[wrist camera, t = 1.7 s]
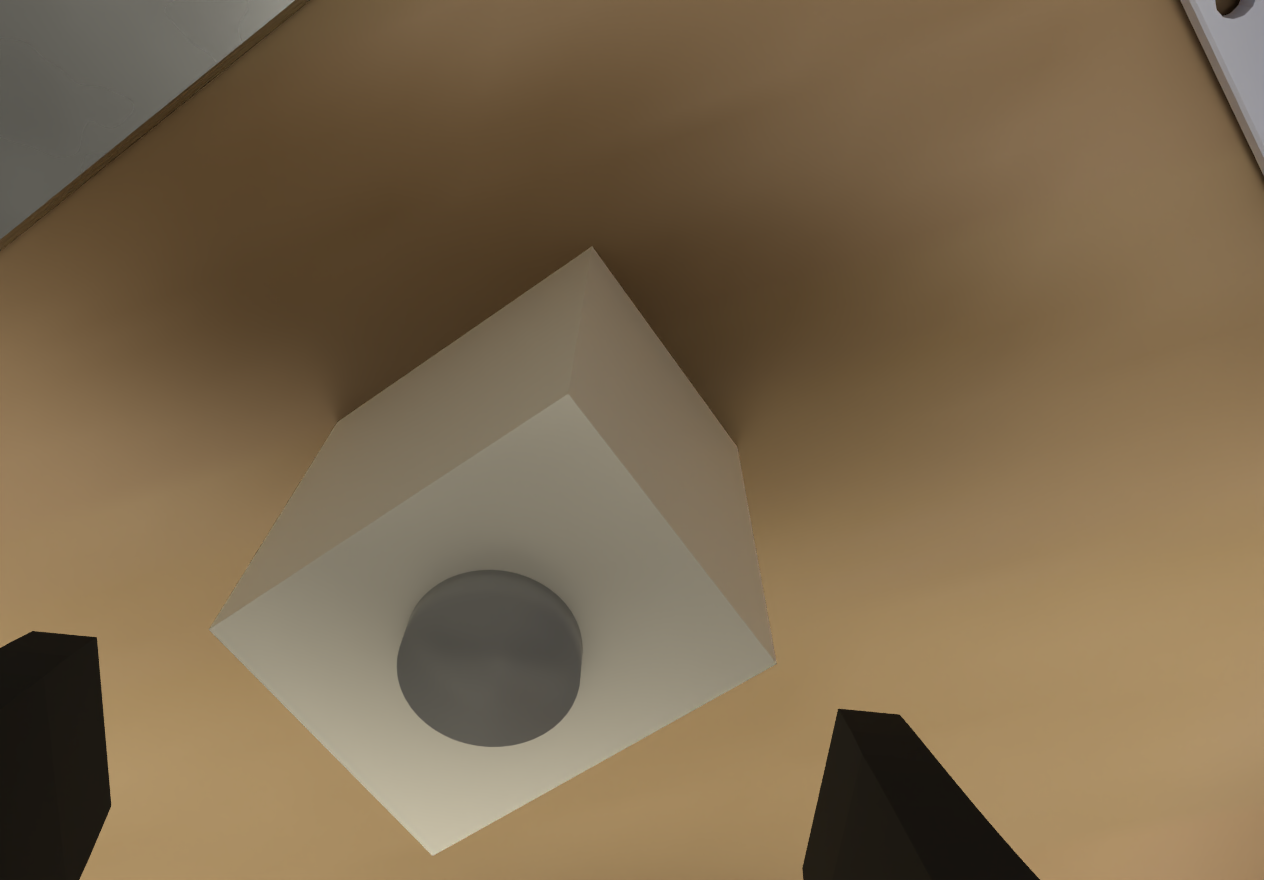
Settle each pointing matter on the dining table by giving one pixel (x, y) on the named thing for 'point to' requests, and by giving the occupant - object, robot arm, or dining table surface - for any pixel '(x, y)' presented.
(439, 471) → the block
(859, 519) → the dining table surface
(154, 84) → the press bed
